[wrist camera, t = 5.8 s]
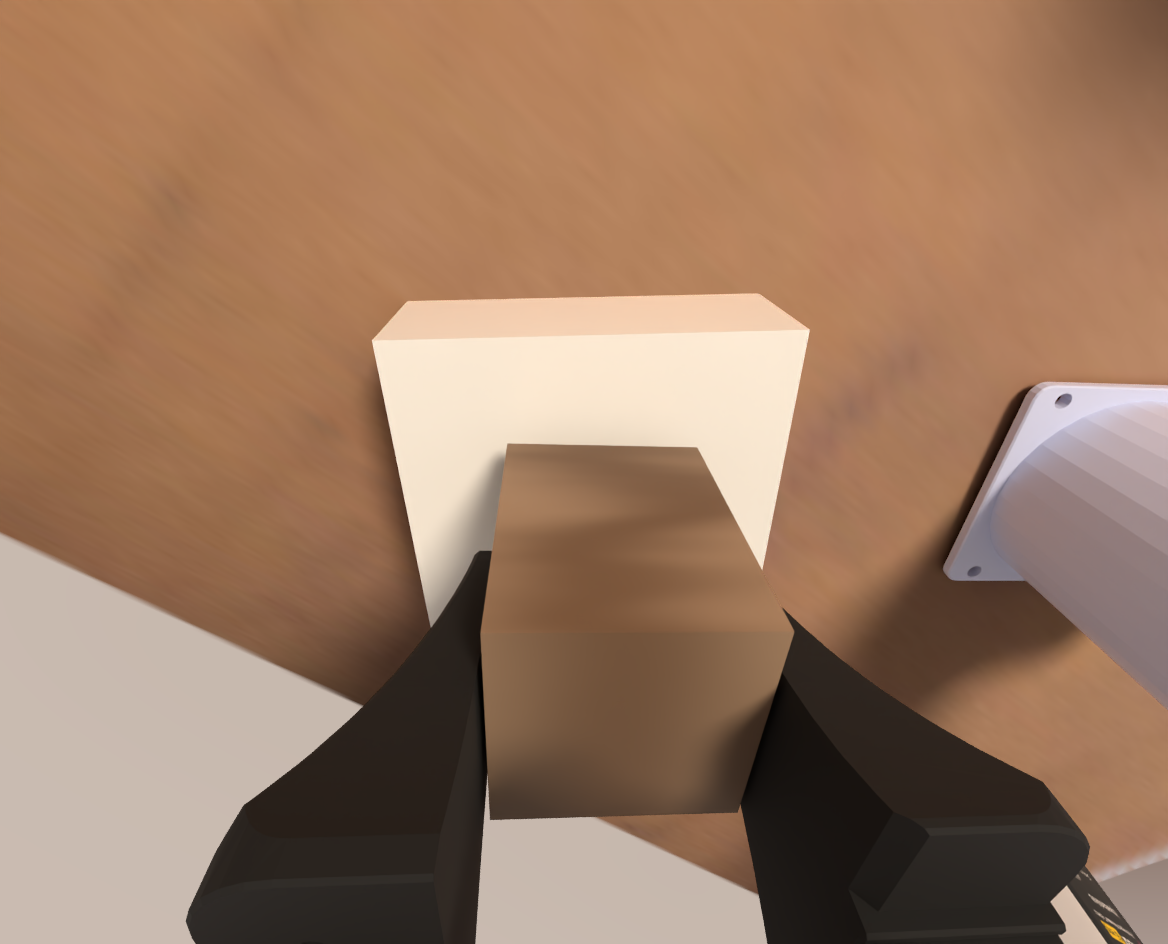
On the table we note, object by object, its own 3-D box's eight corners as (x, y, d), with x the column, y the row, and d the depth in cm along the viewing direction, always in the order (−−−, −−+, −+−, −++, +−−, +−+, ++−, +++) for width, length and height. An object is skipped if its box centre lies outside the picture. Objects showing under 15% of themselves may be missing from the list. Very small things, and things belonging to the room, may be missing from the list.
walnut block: (697, 446, 13) (794, 631, 8) (673, 592, 16) (737, 812, 10) (507, 443, 13) (480, 633, 8) (509, 592, 15) (490, 819, 10)
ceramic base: (754, 290, 16) (809, 329, 13) (716, 557, 21) (748, 636, 18) (409, 298, 16) (372, 340, 13) (454, 569, 21) (435, 652, 18)
